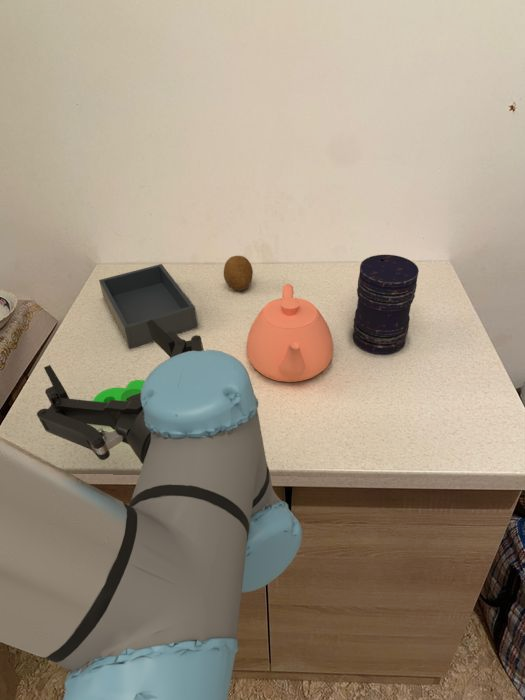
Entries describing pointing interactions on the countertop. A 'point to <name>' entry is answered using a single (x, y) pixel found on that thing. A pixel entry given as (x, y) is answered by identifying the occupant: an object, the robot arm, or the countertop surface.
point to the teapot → (289, 339)
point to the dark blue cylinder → (384, 303)
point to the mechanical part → (120, 392)
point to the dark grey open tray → (147, 304)
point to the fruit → (238, 273)
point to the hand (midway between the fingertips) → (103, 350)
